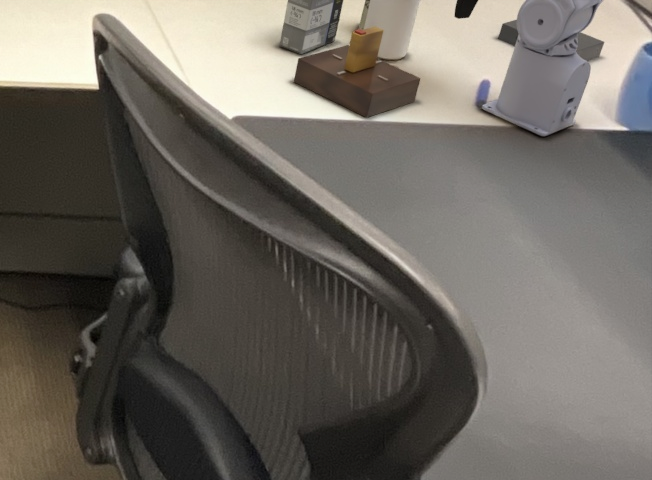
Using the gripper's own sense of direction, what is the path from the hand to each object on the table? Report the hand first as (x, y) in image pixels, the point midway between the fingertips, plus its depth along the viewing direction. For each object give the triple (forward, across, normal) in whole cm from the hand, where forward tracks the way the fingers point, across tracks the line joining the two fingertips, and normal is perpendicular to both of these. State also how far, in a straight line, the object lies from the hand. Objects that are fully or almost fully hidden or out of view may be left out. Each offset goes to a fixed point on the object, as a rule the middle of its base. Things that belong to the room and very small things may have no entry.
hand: (441, 6), depth 141 cm
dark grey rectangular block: (+9, -3, +28) cm, 29 cm away
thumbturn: (+6, +2, -13) cm, 14 cm away
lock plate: (+9, +2, -13) cm, 16 cm away
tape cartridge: (+9, -14, -9) cm, 19 cm away
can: (+9, -8, 0) cm, 13 cm away
